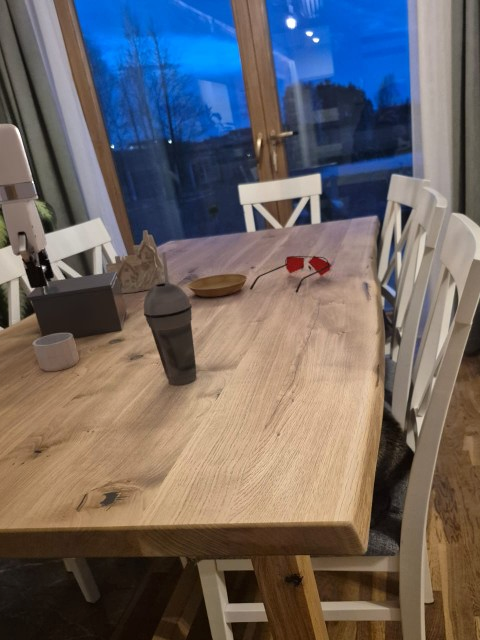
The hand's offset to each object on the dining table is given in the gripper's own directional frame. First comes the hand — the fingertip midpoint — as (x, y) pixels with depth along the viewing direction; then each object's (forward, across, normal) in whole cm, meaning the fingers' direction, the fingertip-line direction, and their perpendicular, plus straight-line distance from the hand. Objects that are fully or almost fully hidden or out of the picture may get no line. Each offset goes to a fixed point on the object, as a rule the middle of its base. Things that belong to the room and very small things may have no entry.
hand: (42, 282), depth 121 cm
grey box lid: (+2, 0, +6) cm, 6 cm away
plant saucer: (+11, -14, +36) cm, 41 cm away
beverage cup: (+11, +41, +26) cm, 50 cm away
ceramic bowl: (+11, +23, +4) cm, 26 cm away
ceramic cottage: (+11, -35, +16) cm, 40 cm away
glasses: (+11, -11, +54) cm, 57 cm away
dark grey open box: (+11, 0, +6) cm, 13 cm away
